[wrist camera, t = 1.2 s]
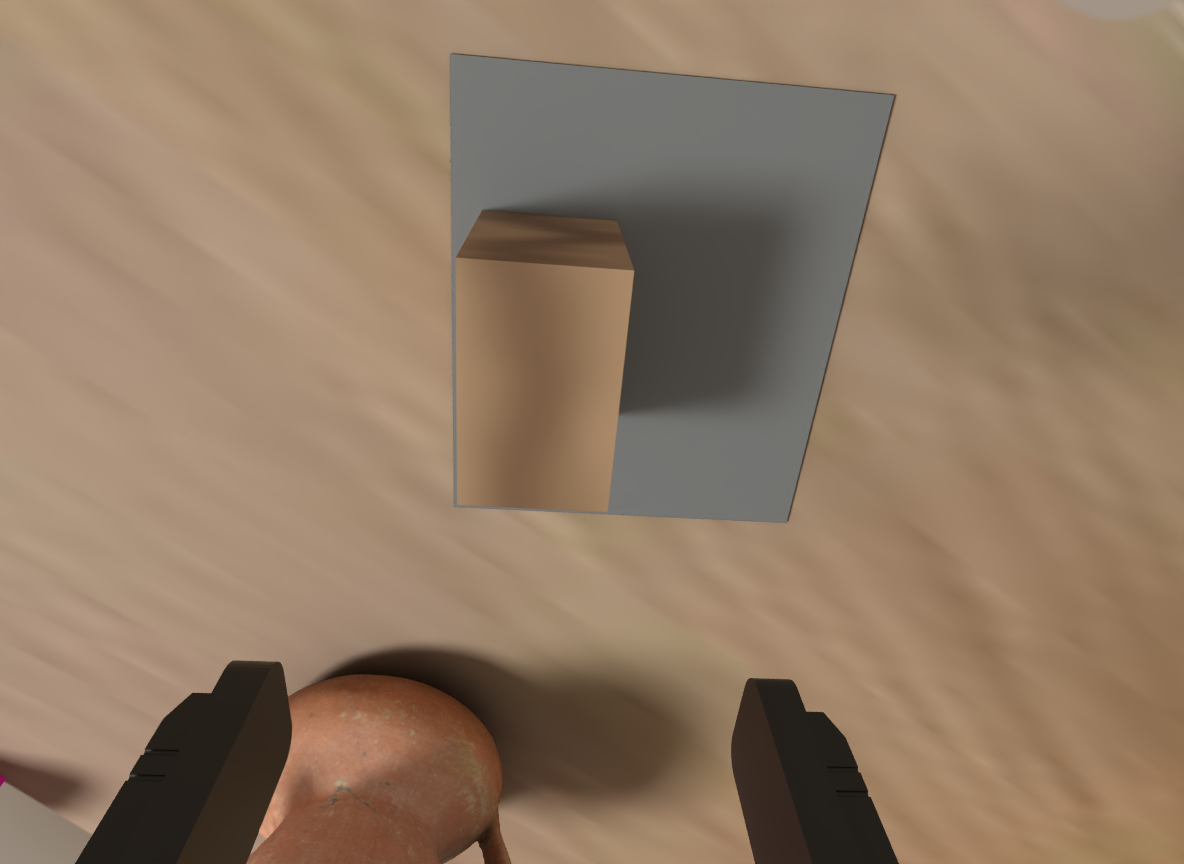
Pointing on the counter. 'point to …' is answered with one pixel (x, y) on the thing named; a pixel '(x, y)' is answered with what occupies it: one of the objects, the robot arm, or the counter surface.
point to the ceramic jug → (383, 778)
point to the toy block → (2, 780)
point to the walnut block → (539, 360)
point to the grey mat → (687, 254)
